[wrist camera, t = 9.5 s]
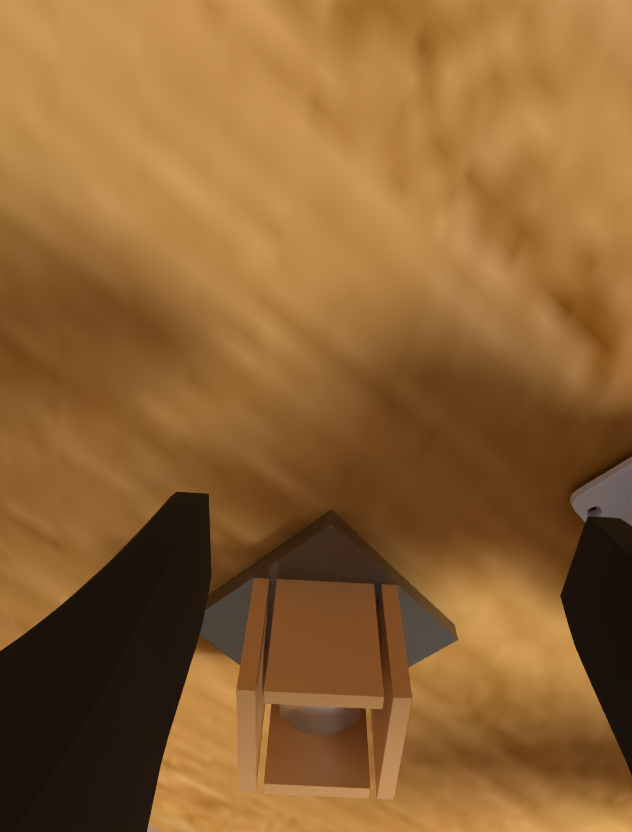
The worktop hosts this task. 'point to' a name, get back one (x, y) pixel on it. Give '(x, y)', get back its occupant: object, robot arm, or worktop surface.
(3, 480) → the worktop surface
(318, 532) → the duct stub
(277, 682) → the brown hollow box
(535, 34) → the worktop surface
